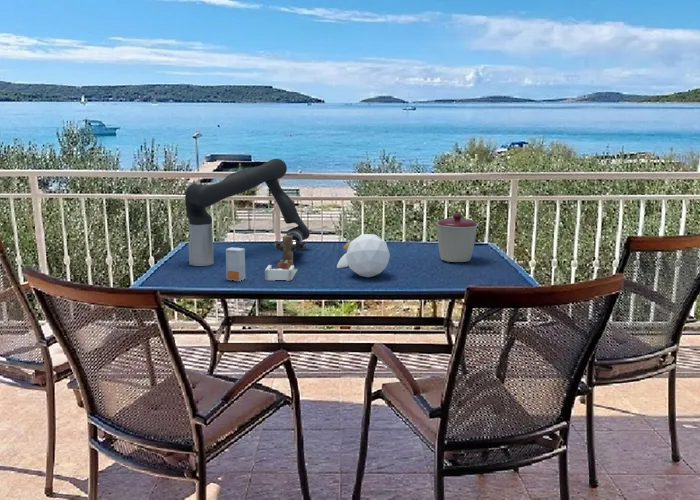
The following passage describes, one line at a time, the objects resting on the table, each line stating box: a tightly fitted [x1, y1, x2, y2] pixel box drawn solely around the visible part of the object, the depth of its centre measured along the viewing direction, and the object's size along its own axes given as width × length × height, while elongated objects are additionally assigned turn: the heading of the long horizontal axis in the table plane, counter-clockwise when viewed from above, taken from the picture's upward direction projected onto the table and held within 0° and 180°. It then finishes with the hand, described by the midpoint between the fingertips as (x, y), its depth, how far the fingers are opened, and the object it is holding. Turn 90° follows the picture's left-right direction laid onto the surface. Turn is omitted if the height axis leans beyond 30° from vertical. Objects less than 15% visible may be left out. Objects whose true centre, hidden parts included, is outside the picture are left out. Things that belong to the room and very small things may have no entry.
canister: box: [435, 212, 479, 263], centre depth 257 cm, size 18×18×21 cm
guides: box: [279, 259, 294, 268], centre depth 245 cm, size 5×1×3 cm, turn 87°
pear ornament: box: [336, 233, 391, 278], centre depth 237 cm, size 16×22×28 cm
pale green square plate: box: [272, 267, 299, 276], centre depth 237 cm, size 10×9×1 cm
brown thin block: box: [277, 234, 294, 270], centre depth 242 cm, size 4×15×12 cm, turn 177°
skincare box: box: [225, 247, 246, 282], centre depth 224 cm, size 6×4×12 cm
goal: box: [264, 264, 295, 282], centre depth 228 cm, size 10×8×4 cm
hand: (286, 249), depth 245 cm, fingers closed on brown thin block, 3 cm apart
